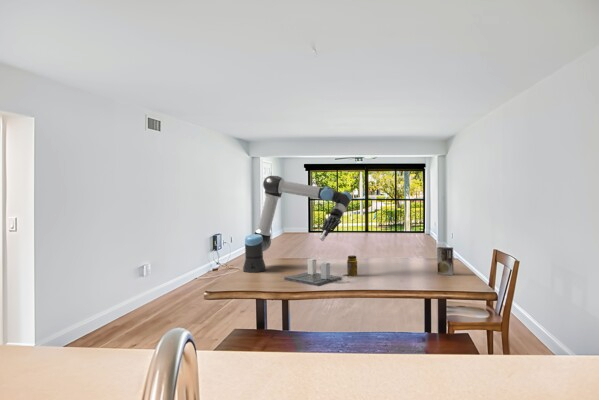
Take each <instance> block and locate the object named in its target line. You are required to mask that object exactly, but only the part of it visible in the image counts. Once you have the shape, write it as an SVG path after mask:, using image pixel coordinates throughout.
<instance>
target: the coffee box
mask: <svg viewBox="0 0 599 400" xmlns="http://www.w3.org/2000/svg"><path fill="white" fill-rule="evenodd" d="M436 254H437V255H436V256H437V257H436V259H437V275H442V276H443V275H444V276H448V275H449V276H454V273H455V272H454V270H455V269H454V247H450V246H449V247H447V246H445V247H444V246H443V247H442V246H439V247H438V246H437V248H436Z"/></svg>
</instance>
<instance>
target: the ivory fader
mask: <svg viewBox="0 0 599 400" xmlns="http://www.w3.org/2000/svg"><path fill="white" fill-rule="evenodd" d="M307 272H308V274H311V275H314V274H317V273H318V272H317V259H316V258H308V259H307Z"/></svg>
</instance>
